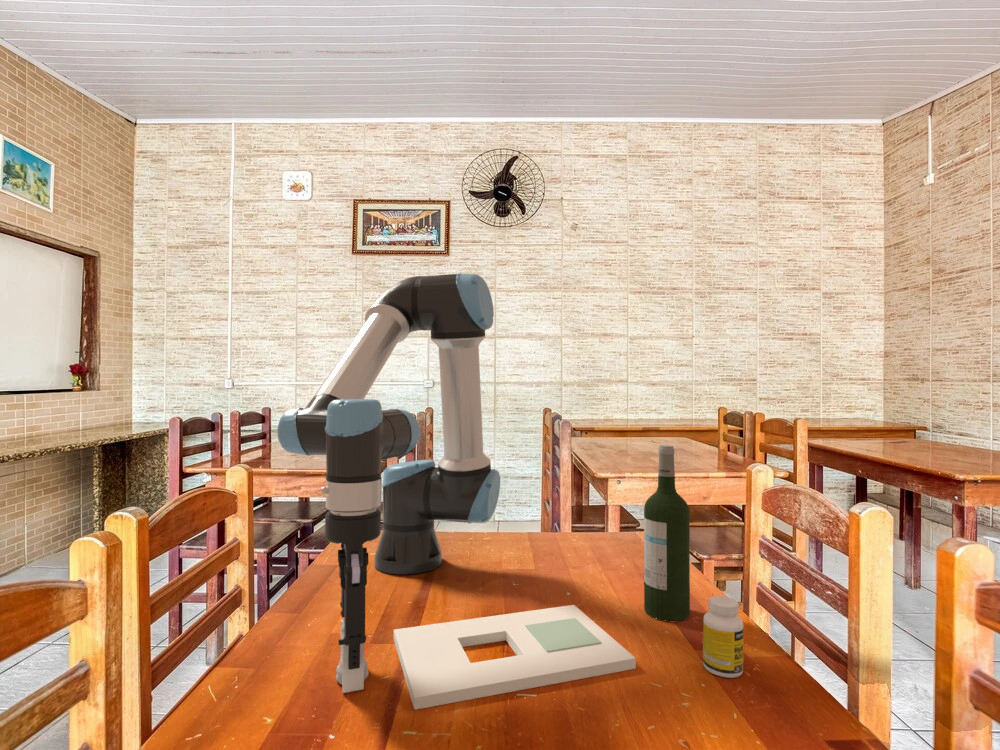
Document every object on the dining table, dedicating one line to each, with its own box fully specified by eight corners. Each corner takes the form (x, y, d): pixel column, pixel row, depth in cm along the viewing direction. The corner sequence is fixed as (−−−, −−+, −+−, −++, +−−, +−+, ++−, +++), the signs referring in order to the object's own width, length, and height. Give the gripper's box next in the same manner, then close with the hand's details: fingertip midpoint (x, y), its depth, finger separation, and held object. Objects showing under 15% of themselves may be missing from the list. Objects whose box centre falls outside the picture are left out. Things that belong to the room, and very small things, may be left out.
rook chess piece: (374, 673, 77) (375, 616, 77) (356, 690, 73) (357, 629, 73) (347, 667, 78) (348, 611, 78) (328, 683, 74) (329, 624, 74)
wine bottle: (697, 612, 98) (696, 445, 98) (678, 626, 92) (677, 449, 93) (656, 600, 103) (656, 442, 104) (635, 613, 97) (635, 445, 98)
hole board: (393, 639, 87) (393, 628, 87) (573, 613, 97) (573, 603, 97) (414, 709, 68) (414, 696, 68) (635, 668, 78) (635, 656, 78)
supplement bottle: (740, 683, 75) (740, 611, 75) (699, 672, 77) (699, 603, 78) (746, 666, 79) (746, 598, 79) (707, 656, 82) (707, 591, 82)
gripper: (324, 497, 84) (322, 648, 83) (326, 528, 66) (323, 722, 65) (374, 494, 86) (372, 641, 86) (388, 524, 68) (387, 710, 68)
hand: (351, 676), depth 75 cm, fingers open, 6 cm apart
